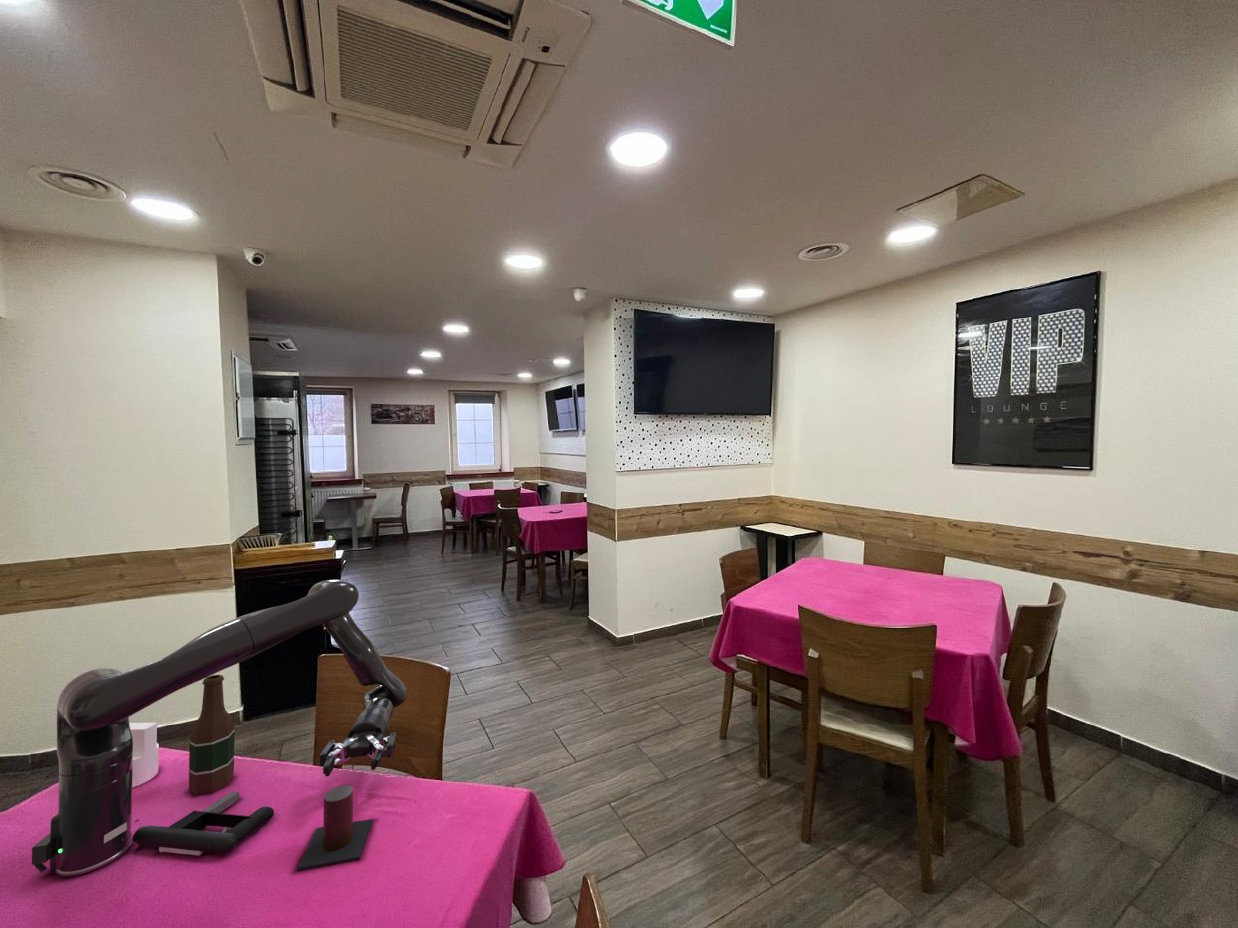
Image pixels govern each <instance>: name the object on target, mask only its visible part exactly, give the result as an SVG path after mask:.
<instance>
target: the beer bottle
mask: <svg viewBox="0 0 1238 928" xmlns="http://www.w3.org/2000/svg"><path fill="white" fill-rule="evenodd" d="M202 680H203V681H202V685H203V693H202V705H201V711H200V715H199V717H198V719H197V720H196V721H195V722H194V723H193V726H192V728H191V731H190V733H189V746H188V749H189V750H188V752H189V753H188V754H189V755H188V756H189V757H188V789H189V792H191V793H192V794H194V795H195V796H199V795H204V794H212V793H213V792H216V791H218V790H220V789H222V788H224V787H226V786H228V784H229V783H230V781H231V780H232V779H233V777H234V772H235V721H234V719H233V717H232V715H231V714H230V713H229V712H228V711H227V710H226V707H225V700H224V684H223V683H224V682H223V681H224V680H225V677H224V675H222V674H213V675H211V676H209V677H206V678H204V679H202Z"/></svg>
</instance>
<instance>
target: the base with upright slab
mask: <svg viewBox="0 0 1238 928" xmlns="http://www.w3.org/2000/svg"><path fill="white" fill-rule="evenodd" d="M129 725H130V730H131V733H132V737H133V766H132V767H133V770H132V789H133V788H135V787H138V786H140V785H143V784H145V783H147V782H148V781H150V780H152V779H153V778H154V777H156V776H157V775H158V773H159V761H160V759H159V757H160V754H159V753H160V751H159V750H160V745H159V742H157V741H158V722H129Z"/></svg>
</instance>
